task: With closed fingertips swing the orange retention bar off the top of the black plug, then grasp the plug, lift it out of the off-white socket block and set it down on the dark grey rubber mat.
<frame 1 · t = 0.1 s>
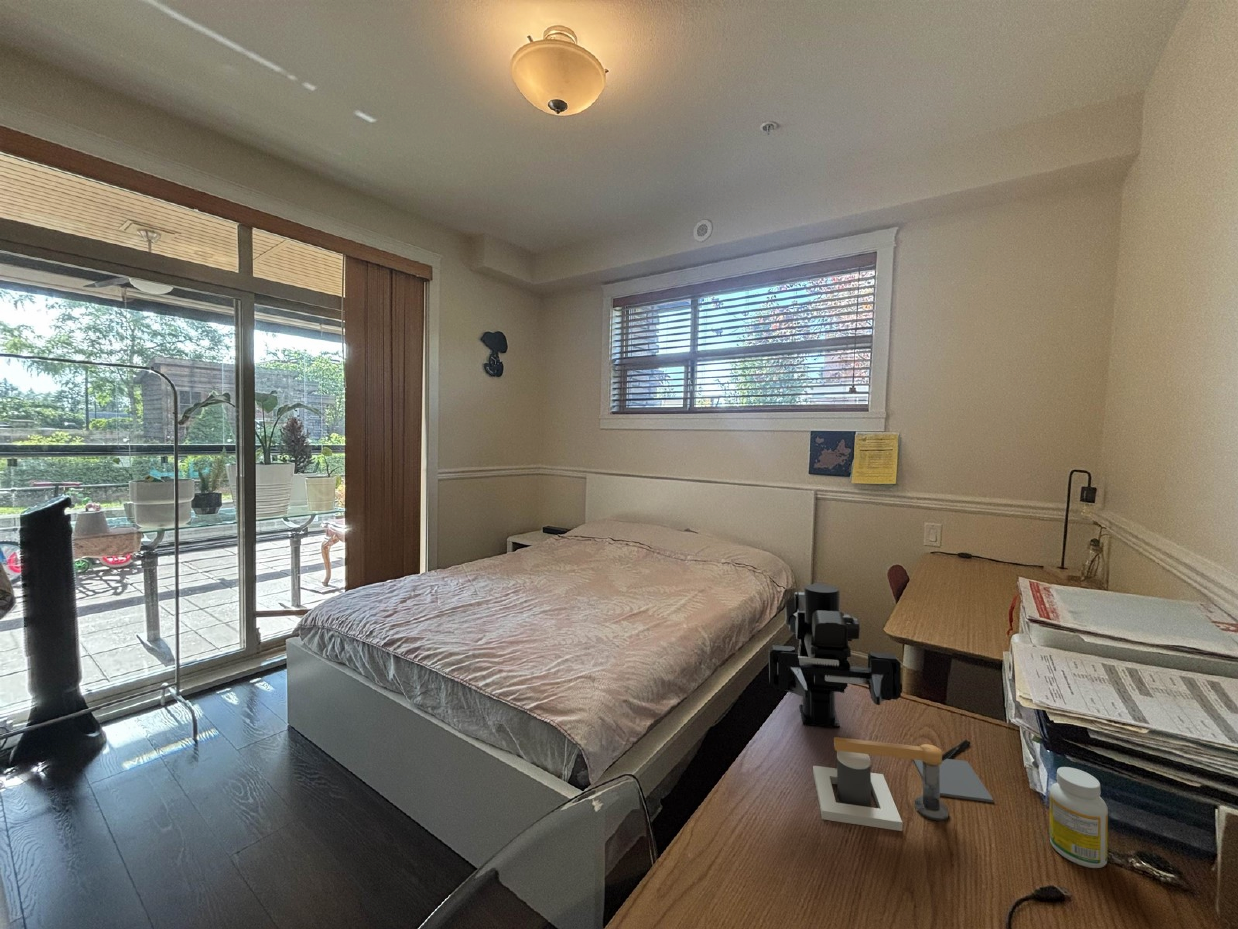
hand: (841, 698, 69), 17 cm above the table, tool horizontal, fingers open, 9 cm apart
plug: (854, 800, 72), resting in socket block
supplement bottle: (1077, 853, 62), on the table
black pen: (949, 759, 82), on the table
clip: (886, 749, 71), point 8 cm above the table, hinge at 0.0°
socket block: (854, 799, 72), on the table
mat: (949, 778, 76), on the table
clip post: (931, 810, 70), on the table
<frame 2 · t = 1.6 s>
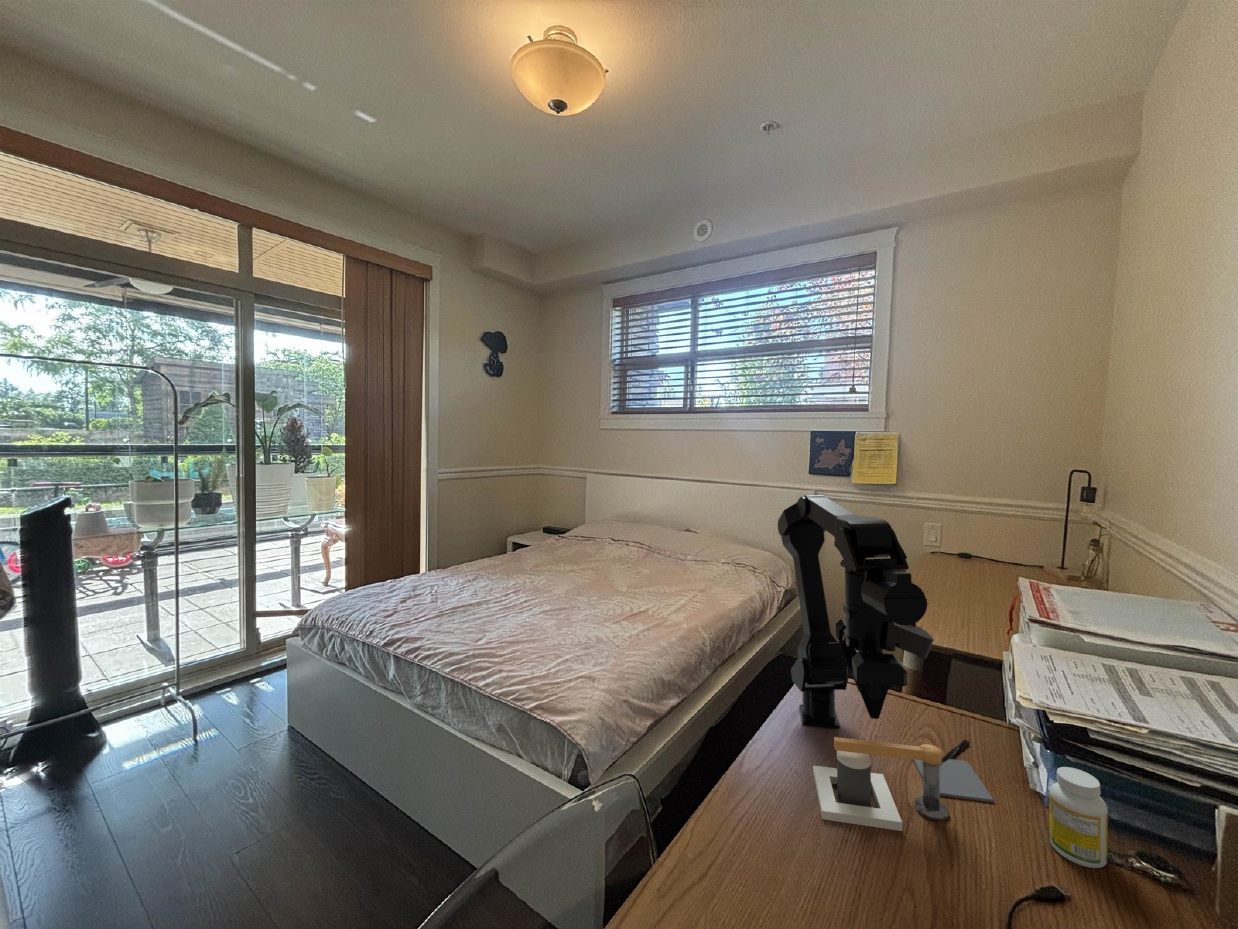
hand: (868, 704, 76), 12 cm above the table, tool pointing down, fingers open, 8 cm apart
nothing on the table moved.
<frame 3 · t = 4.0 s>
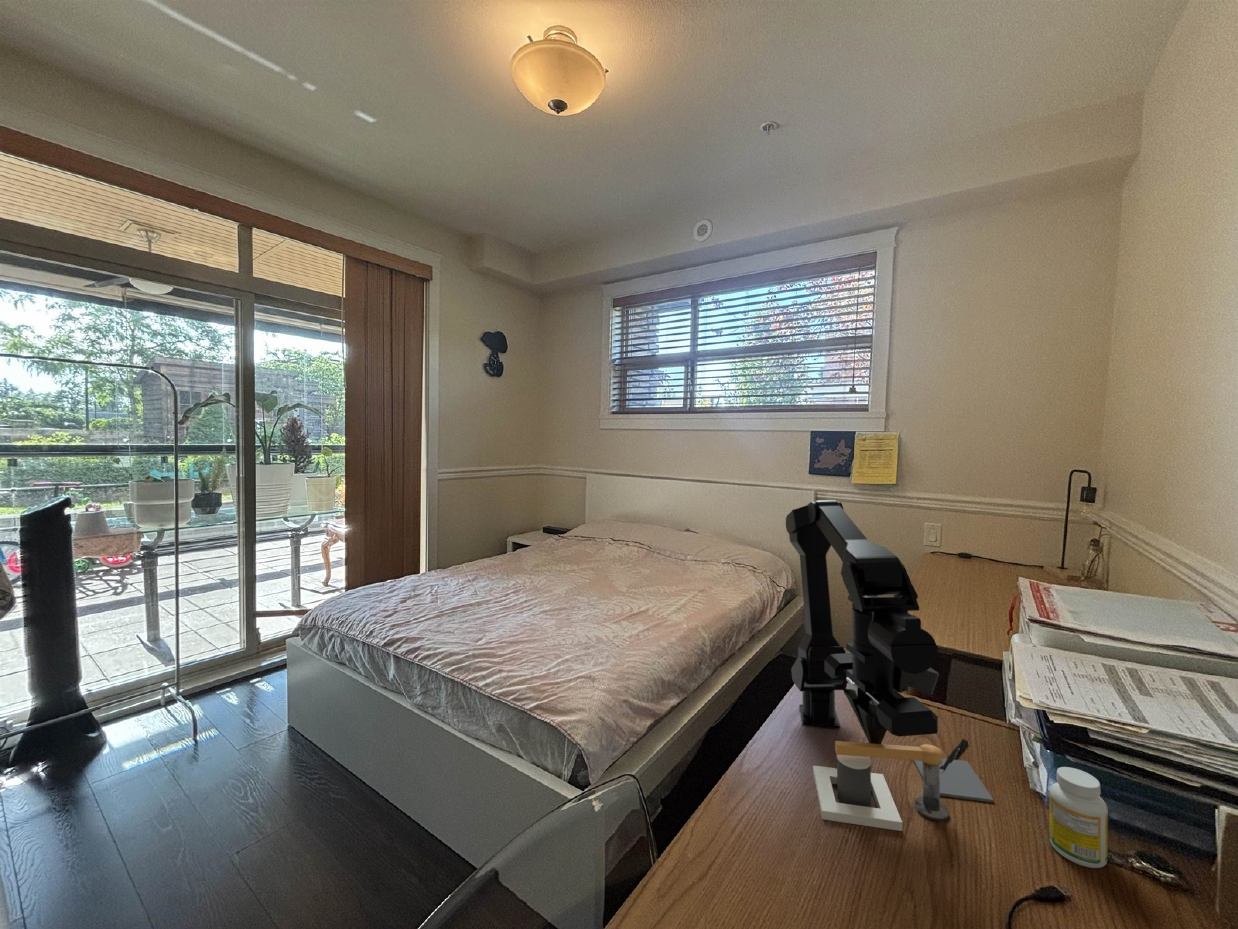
hand: (875, 747, 72), 8 cm above the table, tool pointing down, fingers closed
clip: (887, 751, 71), point 8 cm above the table, hinge at 4.7°, touching gripper
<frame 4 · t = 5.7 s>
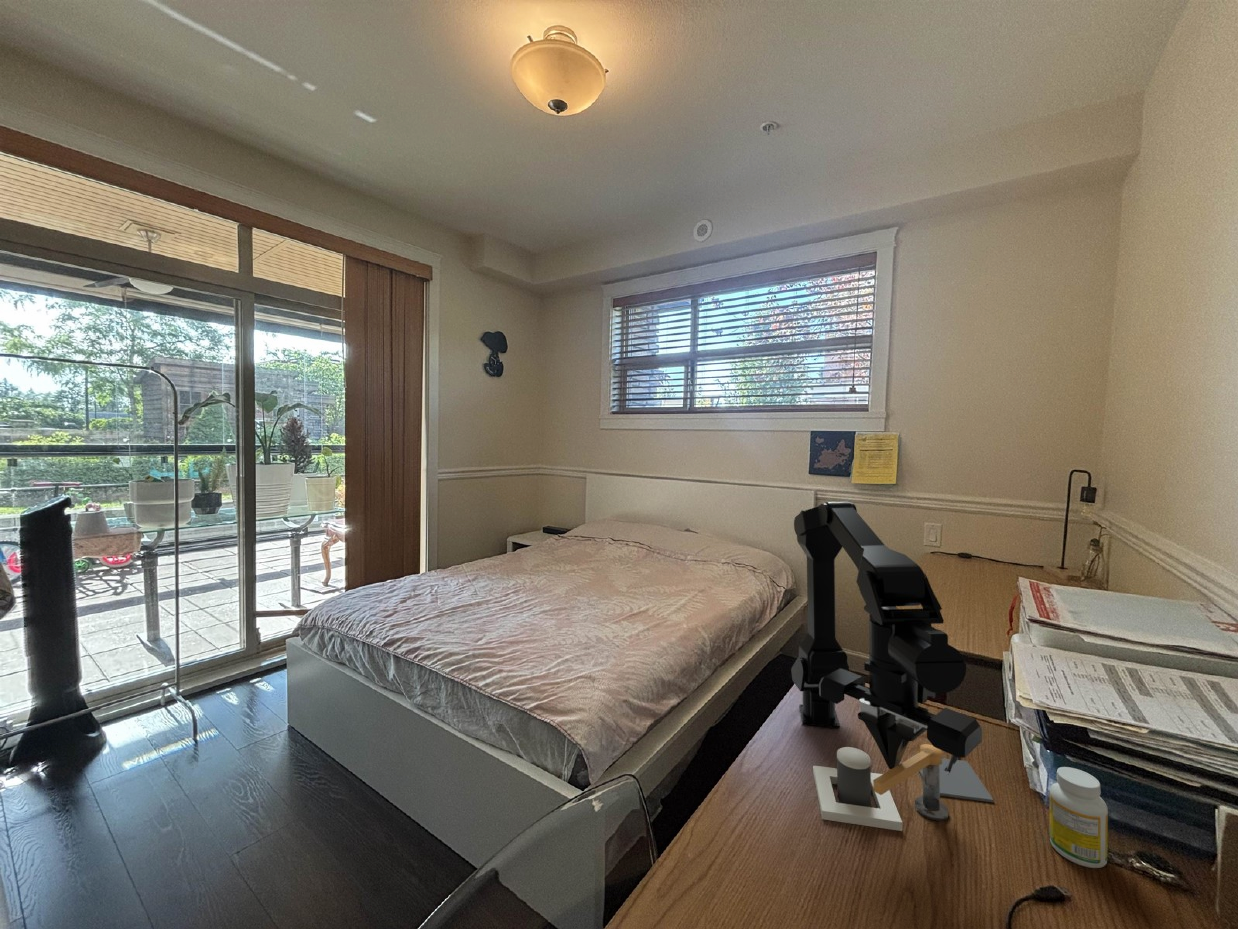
hand: (893, 768, 67), 8 cm above the table, tool pointing down, fingers closed
clip: (908, 768, 67), point 8 cm above the table, hinge at 45.0°, touching gripper
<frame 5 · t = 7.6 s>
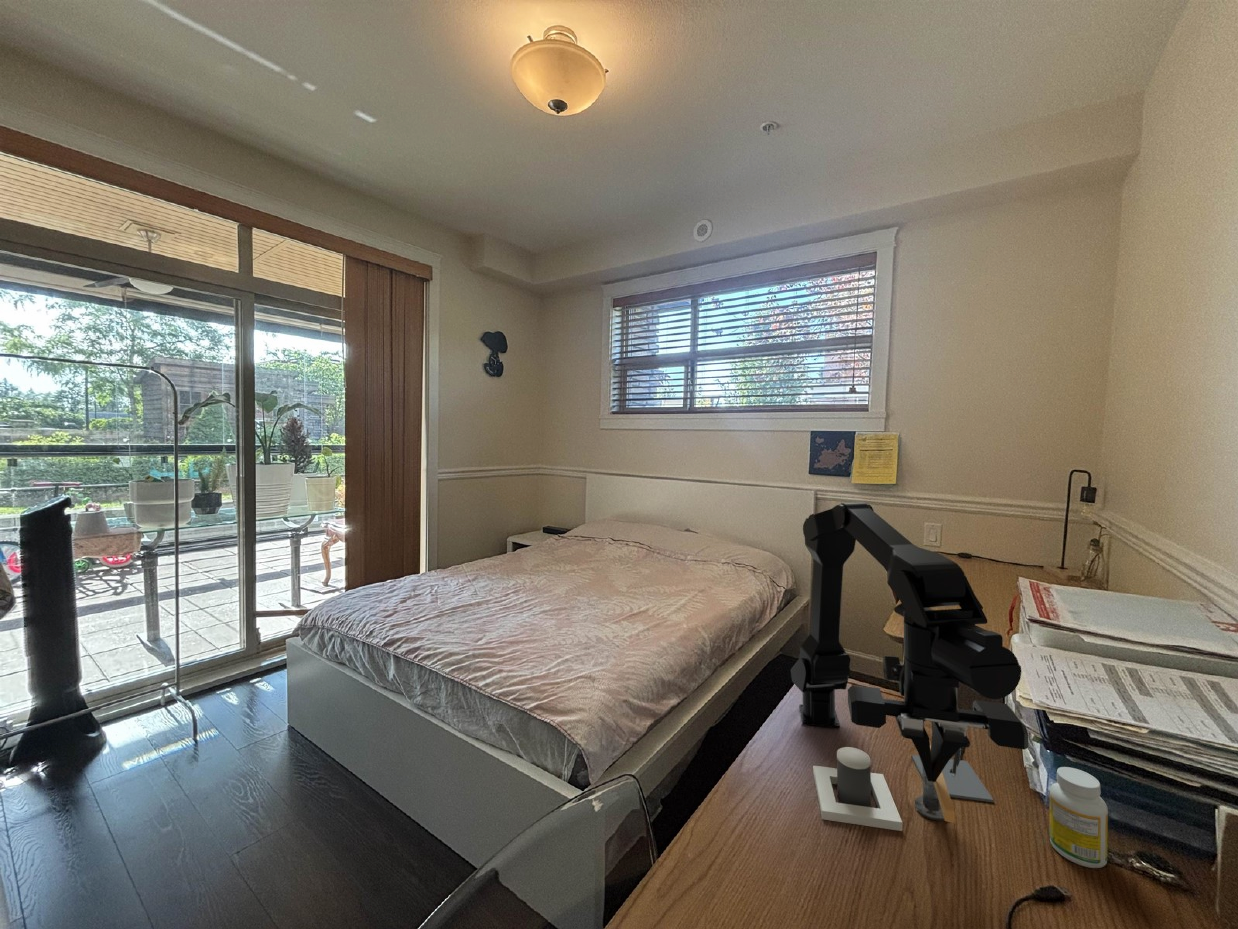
hand: (930, 779, 64), 9 cm above the table, tool pointing down, fingers closed
clip: (938, 779, 65), point 8 cm above the table, hinge at 81.3°
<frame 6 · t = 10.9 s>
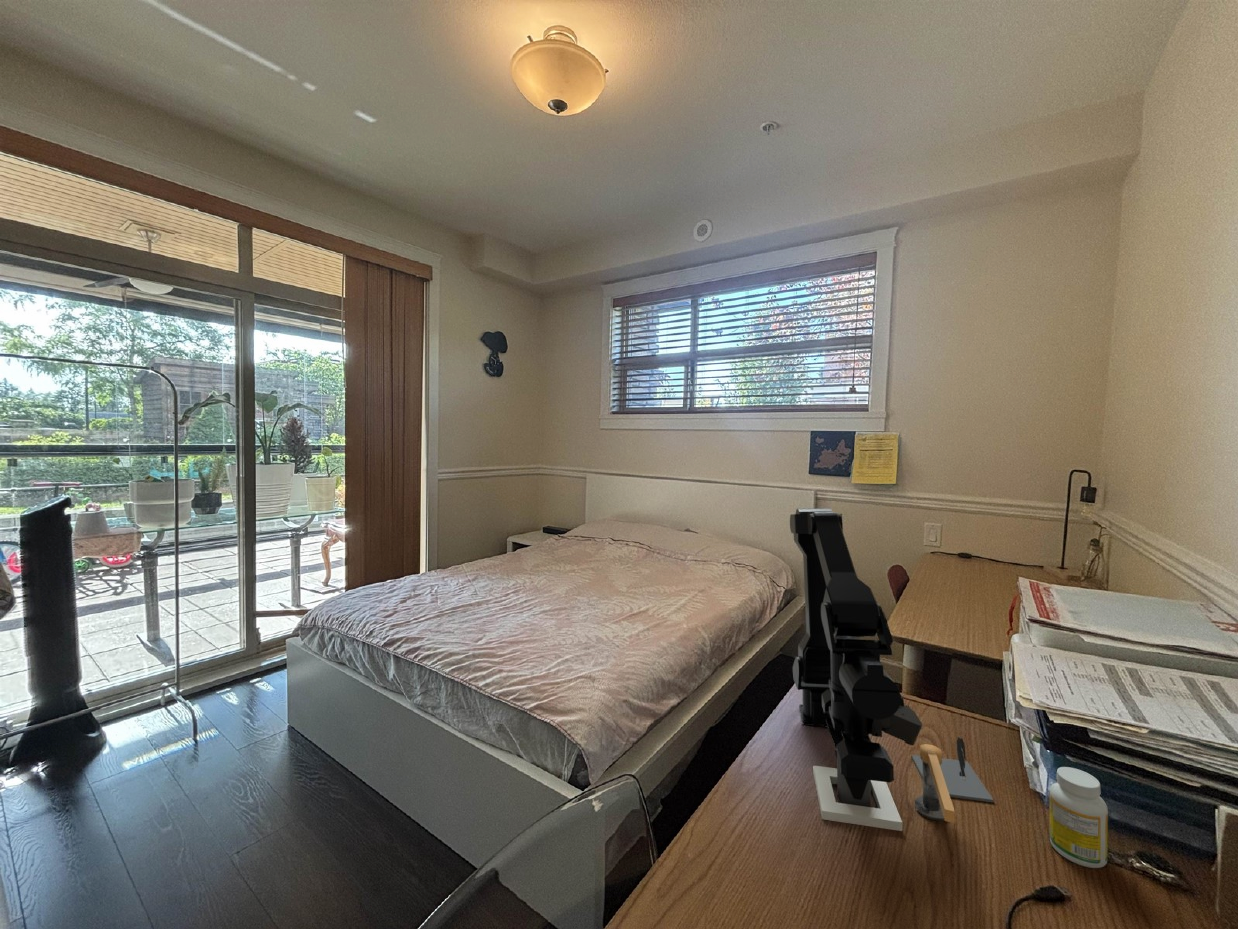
hand: (853, 787, 72), 2 cm above the table, tool pointing down, fingers closed on plug, 4 cm apart
plug: (854, 799, 72), resting in socket block, touching gripper
when the fingers open (4 cm above the table, at t = 14.9 s): plug drops 1 cm, resting on mat.
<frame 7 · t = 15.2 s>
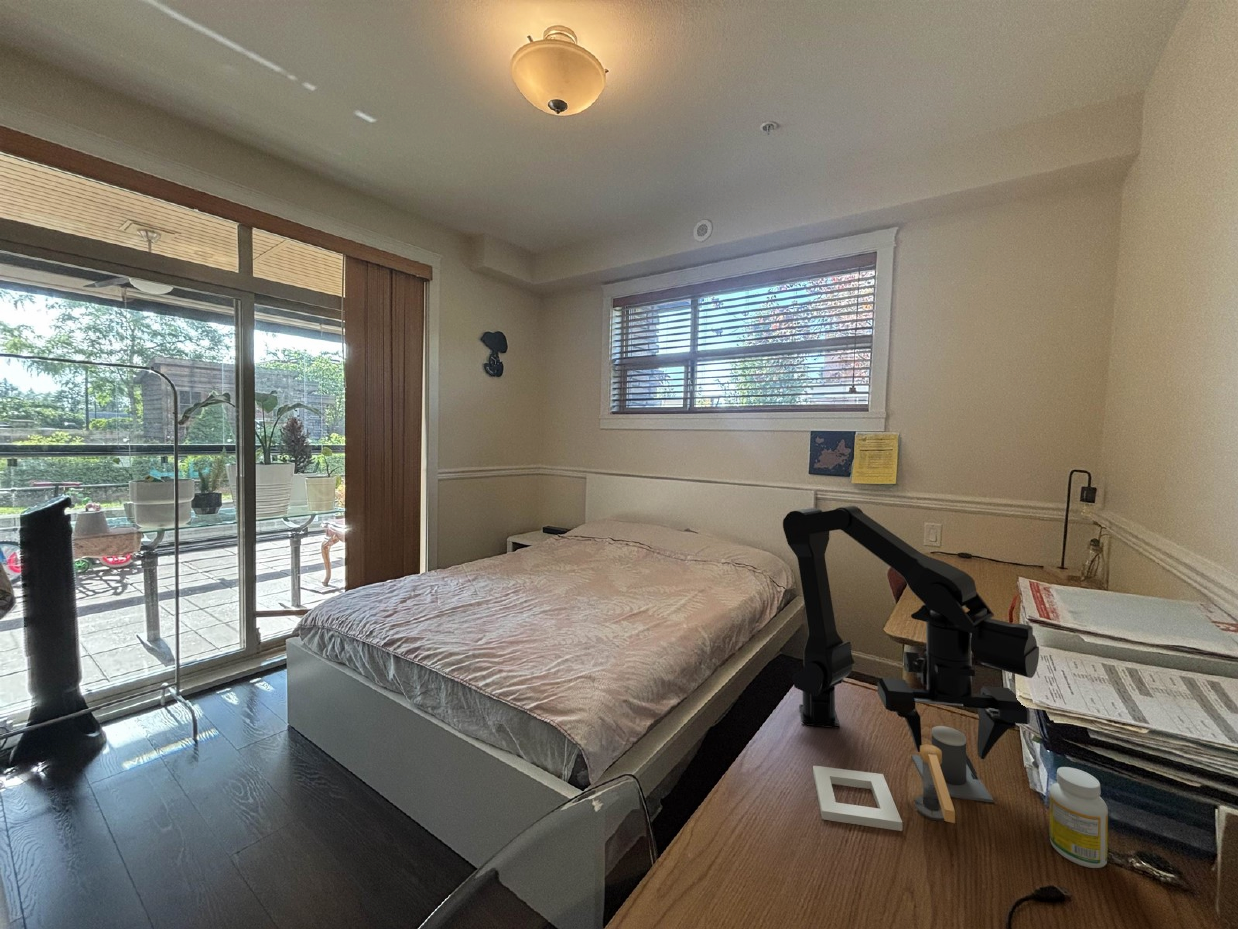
hand: (949, 754, 76), 4 cm above the table, tool pointing down, fingers open, 8 cm apart
plug: (948, 775, 76), resting on mat
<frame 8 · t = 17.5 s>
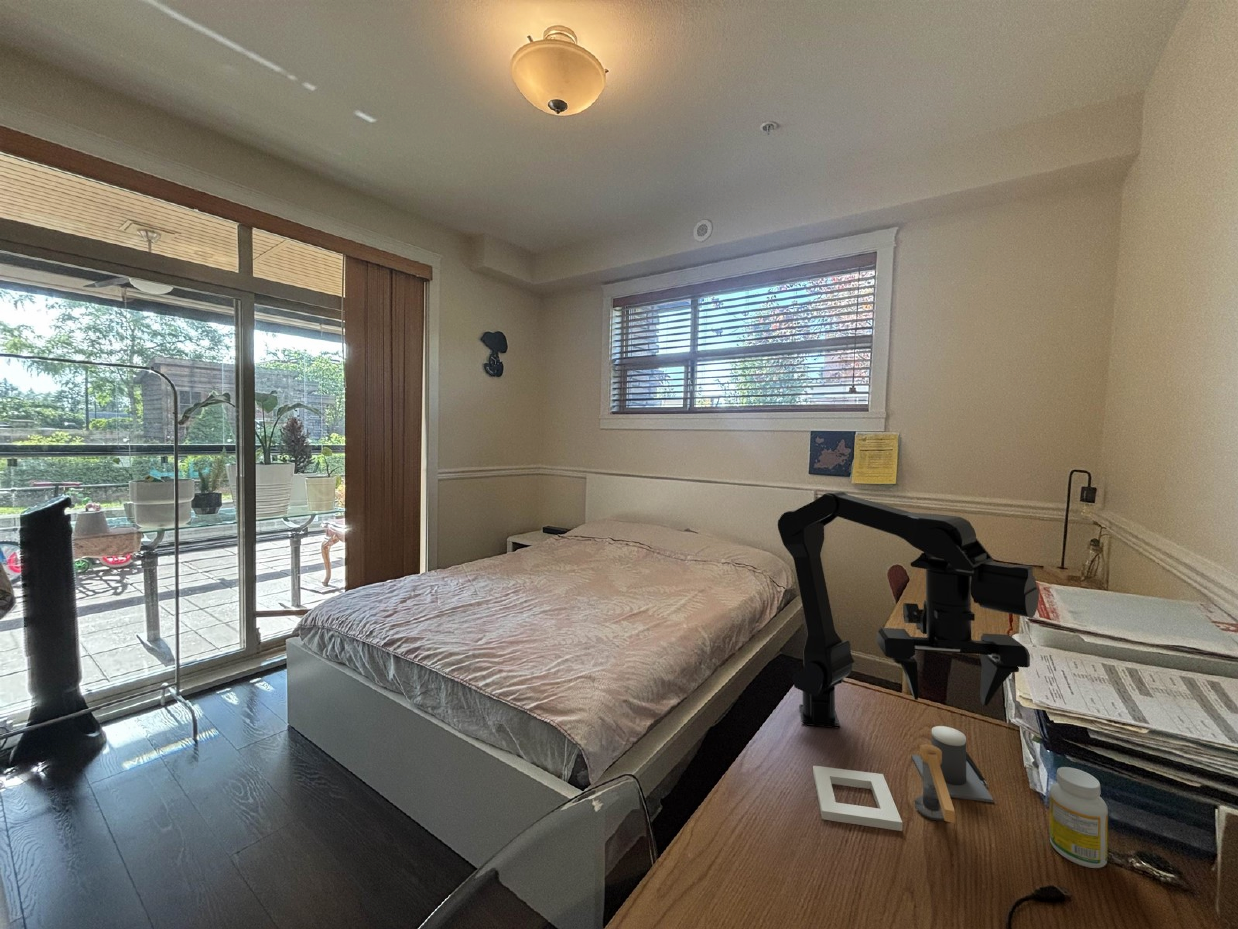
hand: (949, 701, 76), 12 cm above the table, tool pointing down, fingers open, 9 cm apart
at the end: clip at +81° (first picture: +0°); plug inside the target area (0.1 cm from its centre), resting on mat; plug tilted 0° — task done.
